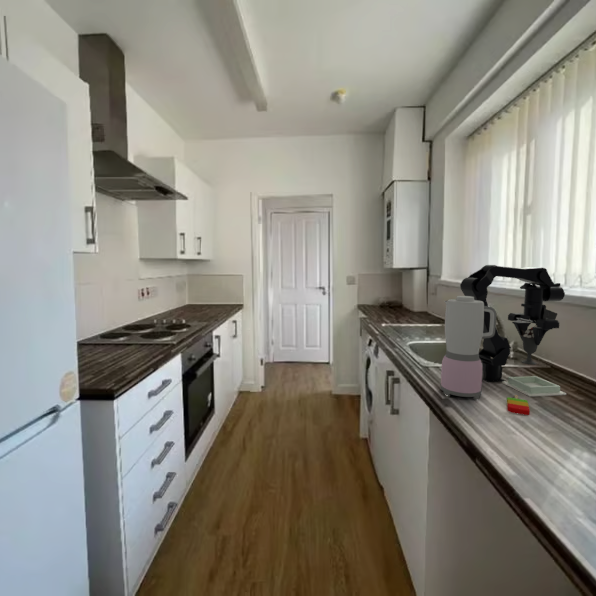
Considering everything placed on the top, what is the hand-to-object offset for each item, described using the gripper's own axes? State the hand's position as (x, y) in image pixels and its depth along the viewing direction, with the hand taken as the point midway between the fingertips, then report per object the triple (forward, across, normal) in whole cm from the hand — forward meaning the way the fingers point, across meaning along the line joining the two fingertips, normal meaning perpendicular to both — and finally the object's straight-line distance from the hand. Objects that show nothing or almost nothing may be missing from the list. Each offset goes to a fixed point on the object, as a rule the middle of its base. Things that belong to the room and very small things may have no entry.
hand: (530, 343), depth 134 cm
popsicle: (+14, -24, +23) cm, 36 cm away
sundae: (+8, 0, 0) cm, 8 cm away
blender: (+13, -14, +34) cm, 39 cm away
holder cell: (+13, -12, +8) cm, 19 cm away
